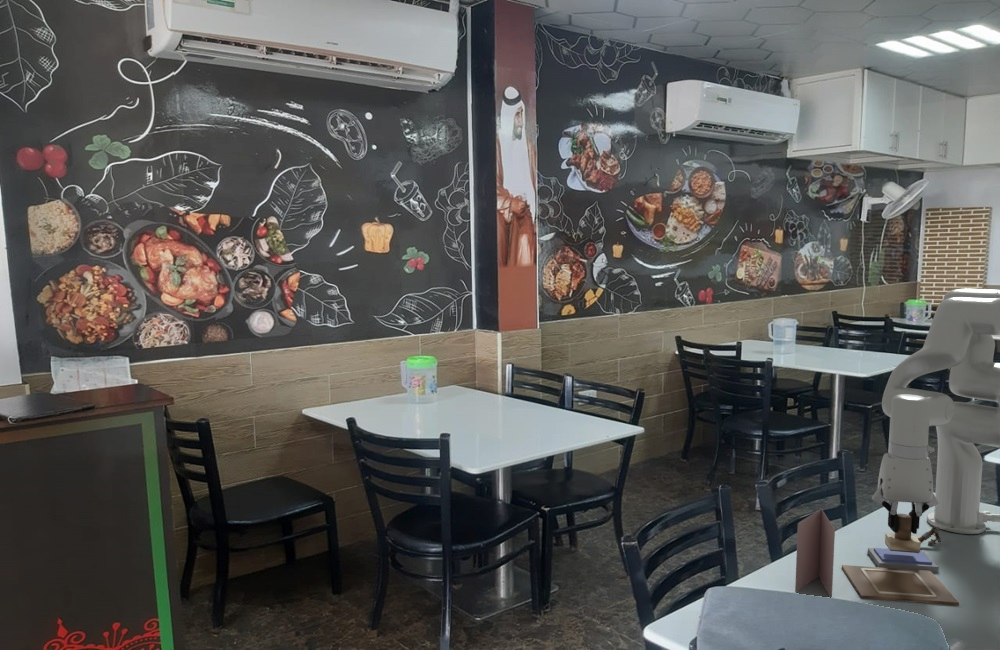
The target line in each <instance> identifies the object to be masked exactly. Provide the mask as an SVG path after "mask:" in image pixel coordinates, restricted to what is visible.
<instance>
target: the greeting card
mask: <svg viewBox="0 0 1000 650" xmlns="http://www.w3.org/2000/svg"><path fill="white" fill-rule="evenodd" d="M796 532H797V534H796V535H797V536H796V559H795V561H796V563H795V584H794V585H795V587H794V588H795V589H794V590H795V591H794V593H795V592H796V593H798V592H799V591H800V590H802V589H803V588H804V587H805V585H806V586H807V585H808V584H809V583H811V582H813V580H815V579H816V578H817V577H819V579H820V581H821V583H822V585H823V586H824V589H825V591H826V593H827V594H828V596H829V598H830V597H832V598H833V582H834V581H833V580H834V579H833V578H834V560H835V558H834V557H835V538H836V537H835V536H836V533H835V532H836V529H835V527H834V526H833V525H832V523H831V521H830V520H829V518H828V517H827V515H826V514H825V512H824V510H823V509H822V508H820V509H818V510H817V511H815V512H814V513H812V514H810V515H809V516H807V517H805V518H803V519H802V520H801V521H799V522H798V523H797V531H796ZM803 586H804V587H803ZM802 587H803V588H802ZM801 588H802V589H801ZM799 589H800V590H799ZM798 590H799V591H798ZM797 591H798V592H797Z"/></svg>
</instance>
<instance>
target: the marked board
mask: <svg viewBox="0 0 1000 650" xmlns="http://www.w3.org/2000/svg"><path fill="white" fill-rule="evenodd" d="M841 569H842V570H843V572H844V574H845V575H846V577H847V578H848V580H849V581H850V583H851V585H853V588H854V589H855V590H856V593H857V594H858V595H859V597H860V599H869V600H881V601H882V600H883V601H891V602H892V601H895V602H907V603H909V602H910V603H921V604H933V605H934V604H936V605H945V606H946V605H949V606H960V602H959V601H958V600H957V598H956V597H955V596H954V595H953V594H952V592H950V590H949V589H948V588H947V587H945V585H944V584H943V583H942V582H941V581H940V580H939V579H938V578H937V576H935V574H934V572H931V571H925V570H910V569H895V568H880V567H878V566H877V567H876V566H864V565H863V566H862V565H848V564H847V565H846V564H842V565H841Z"/></svg>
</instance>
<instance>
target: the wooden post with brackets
mask: <svg viewBox="0 0 1000 650" xmlns="http://www.w3.org/2000/svg"><path fill="white" fill-rule="evenodd" d="M940 530H941V529H940V527H939V526H937V527H936V526H932V527H931V528H930V530H929V531H926V532H924V534H922V535H921V536H920V537H917V539H918V540H919V541H920V542H921V544H922V543H923V542H925V541H927V540H928V539H930V538H931V537H932V535H933V536H934V537H935V538H934V539H933V538H931V539H930V540H929V541H928V544H927V546H934V545H937V543H938V544H940V543H942V538H941V536H940V534H939V531H940ZM936 542H937V543H936Z"/></svg>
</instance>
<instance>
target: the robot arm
mask: <svg viewBox="0 0 1000 650" xmlns="http://www.w3.org/2000/svg"><path fill="white" fill-rule="evenodd" d="M993 336H1000V289H987V288H986V289H983V288H959V289H958V288H956V289H952V290H949V291H948V292H946V293H945V294H944V297H943V300H942V301H940V302H939V304H938V306H937V307H936V311H935V312H934V315H933V319H932V321H931V324H930V326H929V330H928V333H927V335H926V338H925V341H924V343H923V346H922V347H921V348H920V349H919V350H917V351H916V352H914V353H912V354H910V355H909V356H907V358H905V359H904V360H902V361H901V362H900V363H899V364H897V365H896V366H895V368H894V369H893V370H892V372H891V373H890V376H889V378H888V380H887V383H886V385H885V389H884V391H883V394H882V399H881V409H882V412H883V413H884V415H886V416H887V417H889V431H888V432H889V434H888V435H889V437H888V450H887V451H888V452H887V453H886V452H885V453H883V457H882V459H881V463H880V469H879V473H878V478H877V489H876V491H875V492H874V493H873V495H872V496H871V499H872V500H873V501H874V502H876V503H877V504H879V505H881V506H883V507H884V508H885V509H886V511H887V512H888V515H887V526H888V527H889V528H890V530H891V531H893V533H895V532H896V533H897V532H898V523H899V516H898V515H897V514H898V507H899V506H898V505H899V503H910V505H911V511H909V513H908V515H910V516H911V517H912V531H911V534H913V535H914V534H915V535H917V533H918V530H919V529H920V519H921V518H920V517H922V516H923V514H924V513H925V512H926V511H927V510H929V509H931V508H933V507H934V511H932V512H930V513H928V514H927V516H926V521H927V522H928V524H930V525H931V526H932V527H935V526H936V527H937V526H939V527H940V529H939V530H942V531H943V530H944V531H946V532H950V533H954V534H955V533H956V534H964V535H978V534H981V533H984V532H985V531H986V530H987V529H986V526H987V525H986V523H987V522H993V523H1000V514H999V513H991V512H990V511H988V510H983V511H982V509H980V505H981V490H982V488H981V487H982V475H983V458H982V455H981V454H980V451H979V450H978V448H977V447H976V445H984V446H989V447H994V448H1000V362H994V357H995V356H994V354H995V347H996V341H995V339H994V337H993ZM946 369H950V371H949V378H948V389H949V391H950V392H951V393H952V394H954V395H956V396H960V397H963V398H969V399H975V400H982V401H988V402H989V401H990V402H994V403H997V404H998V407H997V406H996V407H995V406H991V405H990V406H988V405H982V404H977V403H976V404H975V403H971V402H964V401H963V402H962V401H954V400H953V398H952V397H950V396H949V395H947V394H945V393H942V392H937V391H931V390H925V389H918V388H911V387H910V388H909V387H908V386H909V384H910V383H911V382H912V381H914V380H915V379H917V378H918V377H922V376H923V375H927V374H930V373H935V372H938V371H942V370H946ZM930 427H935V429H936V435H937V463H936V465H937V466H936V478H935V479H936V480H935V481H936V482H935V493H934V480H933V479H934V478H933V469H932V468H933V467H932V461H931V458H930V457H929V454H931V453H932V454H933V453H935V452H936V450H935V447H934V446H930V445H929V435H930V433H929V432H930ZM975 444H976V445H975ZM882 497H883V498H882Z"/></svg>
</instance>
